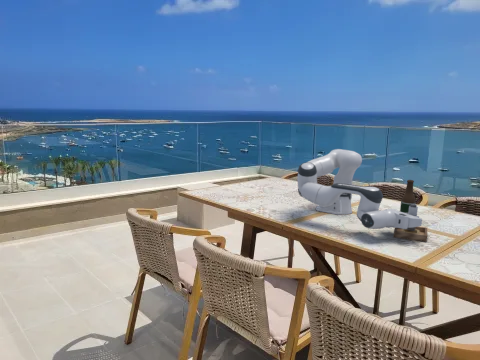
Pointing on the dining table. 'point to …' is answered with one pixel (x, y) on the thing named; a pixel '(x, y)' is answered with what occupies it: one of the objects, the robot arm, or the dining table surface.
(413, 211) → the grey capped bottle
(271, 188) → the dining table surface
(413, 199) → the beer bottle
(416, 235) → the walnut box
